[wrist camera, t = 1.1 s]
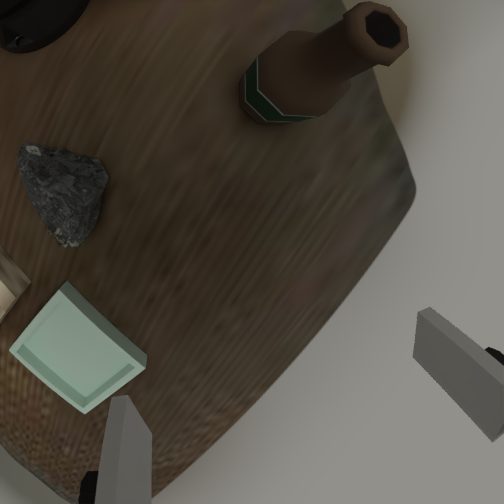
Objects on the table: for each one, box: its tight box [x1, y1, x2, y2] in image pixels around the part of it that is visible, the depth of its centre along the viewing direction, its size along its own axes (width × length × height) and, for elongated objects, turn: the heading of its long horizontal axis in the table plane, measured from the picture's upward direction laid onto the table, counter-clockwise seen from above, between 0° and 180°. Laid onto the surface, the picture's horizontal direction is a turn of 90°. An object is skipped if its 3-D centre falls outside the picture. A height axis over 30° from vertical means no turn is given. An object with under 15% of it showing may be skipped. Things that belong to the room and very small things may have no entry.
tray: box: [9, 281, 147, 414], centre depth 38 cm, size 15×15×3 cm
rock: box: [17, 142, 109, 248], centre depth 30 cm, size 12×10×10 cm
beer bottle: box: [240, 1, 409, 124], centre depth 23 cm, size 8×8×24 cm
